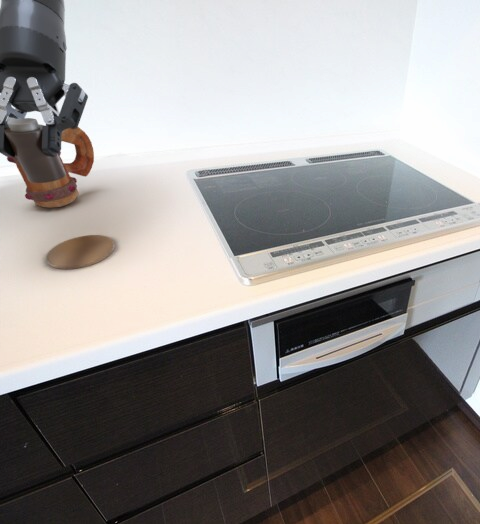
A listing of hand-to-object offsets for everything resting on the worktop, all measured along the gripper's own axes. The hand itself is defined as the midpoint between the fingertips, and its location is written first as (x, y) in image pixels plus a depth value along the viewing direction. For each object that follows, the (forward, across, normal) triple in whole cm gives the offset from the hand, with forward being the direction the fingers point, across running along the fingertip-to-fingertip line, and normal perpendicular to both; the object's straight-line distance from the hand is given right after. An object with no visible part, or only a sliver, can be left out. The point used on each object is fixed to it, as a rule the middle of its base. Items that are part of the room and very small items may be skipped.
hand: (28, 153), depth 50 cm
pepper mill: (+2, 0, +4) cm, 5 cm away
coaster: (+11, 0, +14) cm, 18 cm away
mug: (-4, -10, +29) cm, 31 cm away
